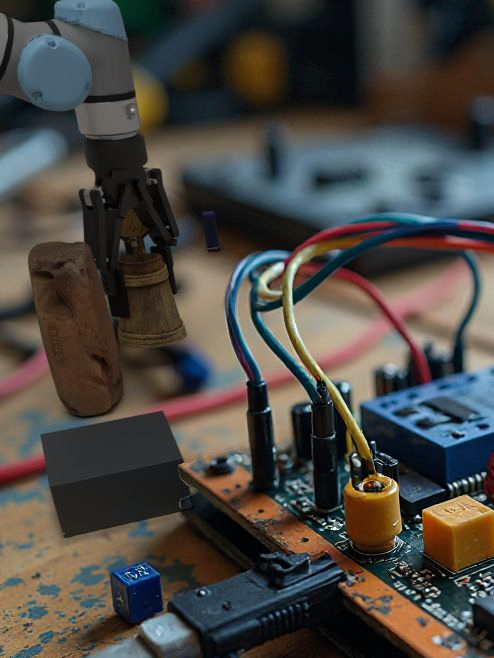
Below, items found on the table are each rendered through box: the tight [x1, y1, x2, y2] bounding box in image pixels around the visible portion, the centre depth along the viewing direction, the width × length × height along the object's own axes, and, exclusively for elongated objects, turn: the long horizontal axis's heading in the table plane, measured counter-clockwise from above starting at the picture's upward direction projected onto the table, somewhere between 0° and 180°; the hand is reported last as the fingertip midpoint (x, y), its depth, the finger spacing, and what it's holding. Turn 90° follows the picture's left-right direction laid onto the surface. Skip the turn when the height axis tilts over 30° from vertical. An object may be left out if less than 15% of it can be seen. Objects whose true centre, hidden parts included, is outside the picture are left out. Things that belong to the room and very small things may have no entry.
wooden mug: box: [109, 208, 188, 349], centre depth 144 cm, size 9×14×18 cm, turn 21°
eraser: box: [201, 210, 221, 253], centre depth 191 cm, size 2×2×7 cm
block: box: [27, 240, 124, 417], centre depth 132 cm, size 11×8×20 cm
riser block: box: [39, 410, 192, 539], centre depth 114 cm, size 13×13×6 cm
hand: (145, 304), depth 146 cm, fingers open, 9 cm apart
